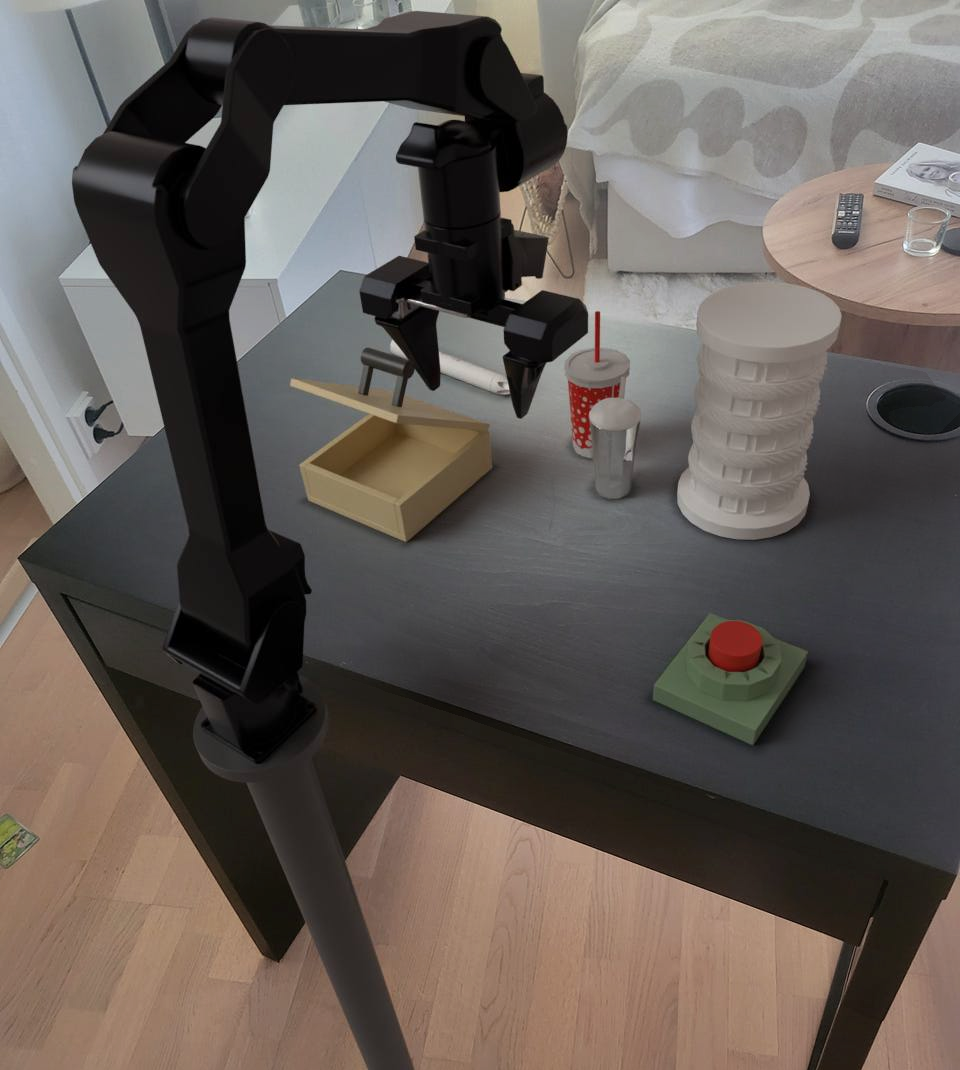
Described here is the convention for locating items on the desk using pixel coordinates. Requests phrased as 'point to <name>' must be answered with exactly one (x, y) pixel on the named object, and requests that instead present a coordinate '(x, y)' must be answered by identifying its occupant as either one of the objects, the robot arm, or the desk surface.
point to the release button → (735, 646)
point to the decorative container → (755, 407)
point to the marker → (466, 372)
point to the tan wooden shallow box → (395, 473)
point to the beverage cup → (592, 385)
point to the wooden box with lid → (388, 395)
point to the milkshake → (614, 443)
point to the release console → (729, 684)
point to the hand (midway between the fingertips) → (477, 402)
